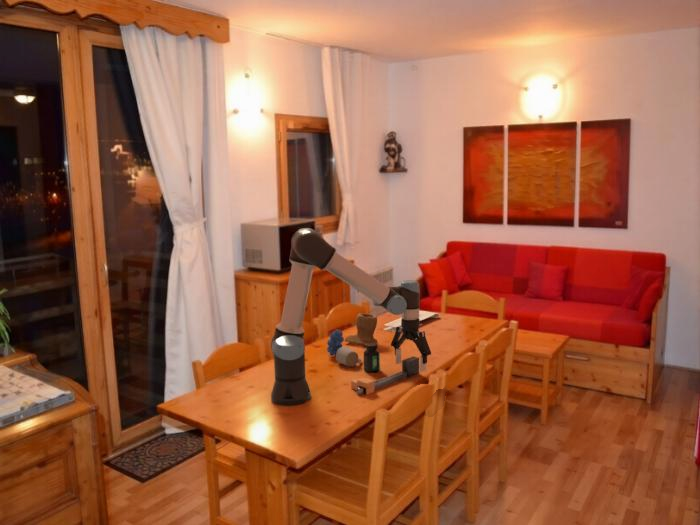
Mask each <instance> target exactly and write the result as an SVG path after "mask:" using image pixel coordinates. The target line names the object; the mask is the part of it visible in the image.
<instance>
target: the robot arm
mask: <svg viewBox="0 0 700 525" xmlns="http://www.w3.org/2000/svg"><path fill="white" fill-rule="evenodd" d="M290 245H291V249H290V254H289V259H288V260H289V263H291V269H290V273H289V279H288V284H287V287H286V293H285V299H284V303H283V309H282V313H281V319H280V322H279V323H278V324H276V325H275V329H274V334H273V336H272V338H271V342H270V349H271V351H272V356H273V362H274V363H273V366H274V383H273V386H272V387H273V388H272V390H271V393H270V397H271V398H270V399H271V402H272V403H273V404H275V405H278V406H284V407H294V406H298V405H299V406H300V405H303V404H305V403H307V402H308V401H310V399H311V398H312V397H311V396H312V394H311V389H310V386H309V383H308V381H307V378H306V357H305V352H306V351H305V350H306V346H305V341H304V337H305V336H304V335H305V329H304V328H303V321H304V317H305V311H306V307H307V302H308V296H309V292H310V288H311V282H312V277H313V273H314V272H313V271H314V269H315V268H318V269H320V270H321V271H327V272H329V273H331V275H333V276H335V277H336V278H338V279H340V280H341V281H343V282H345V283H346V284H348V286H351V287H352V288H353V289H355V290H357V292H359V293H361V294H362V295H364V296H365V297H367V298H368V299H370V300H371V302H372V304H373V306H375V307H382V308H384V309H385V310H387V312H388V313H390V314H391V315H394V316H399V315H401V316H400V318H402V319H401V326H398V327H396V332H394V335H393V338H392V339H391V340H392V341H391V343H390V346H391V347H393V349H394V356H395V365H399V364H402V344H404V342H405V341H406V340H409V341H412V342H413V343H414V345H415V346H416V347H417V349H418V351H419V353H420V355H419V372H425V371H427V363H428V356H430V355H432V352H431V348H430V346H429V343H428V340H427V337H426V331H424V330H423V331H419V328H420V322H421V321H420V319H419V311H420V296H421V294H420V293H421V292H420V290H421V289H420V283H419V282H418V281H417V280H413V279H406V280H403V281H401V282H400V285H398V286H387V285H385V284H384V283H382V282H381V281H379V280H378V279H377V278H375V277H374V276H372V275H370V274H369V273H368V272H367V271H365V270H363V269H362V268H360V267H359V266H357V265H356V264H354V263H353V262H352V261H350V260H348V259H347V258H345V257H344V256H342V255H341V254H340V253H338V252H337V248H336V247H333V245H331V244H330V243H329V242H327V240H326V239H324V237H323V236H322V235H321V234H320V233H319V232H318V231H317V230H315V229H314V228H313V229H312V228H308V227H305V228H300V229H298V230H297V231H295V233H294V234H293V235H292V237H291V241H290ZM402 332H403V333H402ZM401 333H402V334H401Z"/></svg>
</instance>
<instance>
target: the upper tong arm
mask: <svg viewBox="0 0 700 525" xmlns="http://www.w3.org/2000/svg"><path fill="white" fill-rule="evenodd" d="M416 357H417V356H410V357H407V358H404V359H401V369H402V370H401V371H399V372H395V373H393V374H390V375H387V376H385V377H382V378H379V379H376V380H373V381H374V383H377V382H379V381H382V380H385V379H387V378H390V377H392V376H395V375H398V374H400V373H403V372H406V367H405V361H407V360H410V359H413V358H416ZM365 393H366V388H364V387H361V386H360V387H357V390H356V394H357V396H363V395H364V394H365Z"/></svg>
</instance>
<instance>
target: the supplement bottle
mask: <svg viewBox="0 0 700 525" xmlns="http://www.w3.org/2000/svg"><path fill="white" fill-rule="evenodd" d="M380 355H381V353H380V350H378V344H377V343H367V344H366V345H365V350H364V351H363V371H364V373H368V374H378V373H379V372H380V371H381V359H380V358H381V356H380Z"/></svg>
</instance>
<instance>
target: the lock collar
mask: <svg viewBox="0 0 700 525" xmlns="http://www.w3.org/2000/svg"><path fill="white" fill-rule="evenodd" d="M374 381H375V380H372V379H370V378H367V377H362V378H359V379H358V378H355V379H352V380H351V381H350V388H351V389H352V390H355V391H357V387H360V386H361V387H364V388H366V391H365V394H366V395H370V394H372V393H375V390H374ZM366 395H365V396H366Z"/></svg>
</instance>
